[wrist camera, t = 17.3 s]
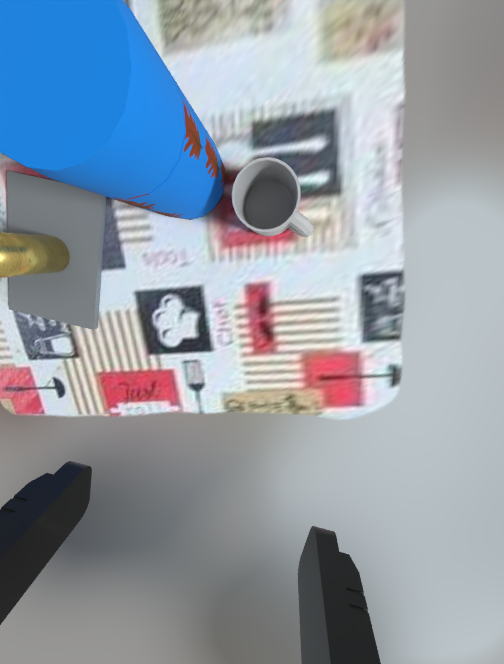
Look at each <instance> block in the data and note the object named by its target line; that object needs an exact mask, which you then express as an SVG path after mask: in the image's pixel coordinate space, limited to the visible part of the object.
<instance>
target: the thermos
mask: <svg viewBox="0 0 504 664" xmlns="http://www.w3.org/2000/svg"><path fill="white" fill-rule="evenodd" d="M0 153H2V154H4V155H6V156H8V157H10V158H11V159H13V160H15V161H17V162H19V163H21V164H22V165H24V166H26V167H28V168H30V169H32V170H34V171H36V172H38V173H40V174H42V175H44V176H46V177H48V178H50V179H53V180H56V181H60V182H63V183H66V184H69V185H72V186H75V187H78V188H81V189H84V190H88V191H91V192H94V193H97V194H100V195H103V196H106V197H109V198H112V199H115V200H119V201H122V202H125V203H128V204H131V205H134V206H137V207H140V208H143V209H147V210H150V211H153V212H156V213H159V214H162V215H165V216H169V217H175V218H182V219H189V220H191V219H195V218H199V217H203V216H205V215H206V214H207V213H209V212H210V211H212V210H213V209H214V208H215V206H216V205H217V203H218V202H219V200H220V199H221V197H222V194H223V190H224V186H225V168H224V166H223V163H222V160H221V158H220V155H219V153H218V151H217V148H216V146H215V144H214V142H213V140H212V139H211V137H210V136H209V134H208V132H207V131H206V129H205V128H204V126H203V124H202V123H201V121H200V120H199V118H198V116H197V115H196V113H195V112H194V110H193V108H192V107H191V105H190V104H189V102H188V101H187V99H186V97H185V96H184V94H183V93H182V91H181V89H180V88H179V86H178V85H177V83H176V81H175V80H174V78H173V77H172V75H171V73H170V72H169V70H168V69H167V67H166V65H165V64H164V62H163V61H162V59H161V57H160V56H159V54H158V53H157V51H156V50H155V48H154V46H153V45H152V43H151V42H150V40H149V38H148V37H147V35H146V34H145V32H144V30H143V29H142V27H141V26H140V24H139V22H138V21H137V19H136V18H135V16H134V14H133V13H132V11H131V10H130V9H129V7H128V6H127V5H126V4H125V3H124V1H123V0H0Z"/></svg>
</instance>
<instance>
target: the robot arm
mask: <svg viewBox="0 0 504 664" xmlns="http://www.w3.org/2000/svg"><path fill="white" fill-rule="evenodd" d="M91 474H92V468H91V467H90V466H87V465H83V464H80V463H76V462H72V461H69V462H67V463H65V464H64V465H63V466H62V467H61V468H60V469H59V470H58V471H57V472H56V473H55V474H54V475H53V474H49V473H46V474H44V475H42V476H40V477H39V478H37V479H35V480H33V481H31V482H29V483H28V484H27V485H26V486H25V487H24V488H22V489H21V490H20V491H19V492H18V493H17V494H16V495H15V496H14V498H13V499H10V500H9V501H8V502H7V503H6V504H5V505H4V506H2V508H1V510H0V625H1V623H2V622H3V621H4V619H5V618H6V617H7V615H8V614H9V613H10V611H11V610H12V609H13V607H14V606H15V605H16V603H17V602H18V601H19V600H20V598H21V597H22V596H23V594H24V593H25V592H26V590H27V589H28V588H29V586H30V585H31V584H32V583H33V581H34V580H35V579H36V577H37V576H38V575H39V573H40V572H41V571H42V569H43V568H44V567H45V566H46V564H47V563H48V562H49V560H50V559H51V558H52V556H53V555H54V554H55V552H56V551H57V550H58V549H59V547H60V546H61V544H62V543H63V542H64V541H65V539H66V538H67V537H68V535H69V534H70V533H71V532H72V530H73V529H74V528H75V526H76V525H77V524H78V522H79V521H80V520H81V518H82V517H83V515H84V513H85V511H86V509H87V507H88V504H89V500H90V487H91ZM298 590H299V612H300V635H301V658H302V664H381V663H380V659H379V654H378V650H377V646H376V642H375V638H374V634H373V629H372V625H371V621H370V617H369V613H368V611H367V610H368V608H367V604H366V600H365V596H364V594H363V592H364V591H363V587H362V583H361V579H360V575H359V572H358V570H357V568H356V566H355V564H354V563H353V561H352V559H351V557H350V555H349V554H345V553H341V552H339V548H338V543H337V538H336V534H335V532H333V531H329V530H326V529H322V528H318V527H315V526H312V528H311V529H310V532H309V535H308V537H307V540H306V543H305V546H304V549H303V552H302V555H301V558H300V562H299V569H298Z"/></svg>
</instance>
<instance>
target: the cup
mask: <svg viewBox="0 0 504 664" xmlns="http://www.w3.org/2000/svg"><path fill="white" fill-rule="evenodd" d="M299 202H300V185H299V181H298V178H297V176H296V175H295V173H294V171H293V170H292V169H291V168H290V167H289V166H288V165H287V164H286V163H284V162H282V161H280V160H279V159H275V158H270V157H267V158H259V159H256V160H254V161H251V162H250V163H249V164H247V165H246V166H245V167H243V168H242V170H241V171H240V172H239V174H238V175H237V177H236V179H235V182H234V184H233V190H232V204H233V207H234V210H235V213H236V214H237V216H238V218H239V219H240V221H242V222H243V223H244V224H245V225H246V226H247V227H248V228H250V229H251V230H252V231H254V232H256V233H258V234H259V235H263V236H275V235H278V234H281V233H282V232H284V231H285V230H286V229H287V228H289V229H290V230H291V231H293V232H294V233H296V234H298V235H300V236H303V237H308V236H309V235H311V234H312V232H313V226H312V224H311V223H310V221H309V220H308V219H307V218H306V217H305V216H304V215H302V214H301V213H300V212H298V211H297V210H298V207H299Z"/></svg>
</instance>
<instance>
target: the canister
mask: <svg viewBox="0 0 504 664" xmlns="http://www.w3.org/2000/svg"><path fill="white" fill-rule="evenodd" d="M69 260H70V255H69V251H68V248H67V246H66V245H65V244H64V242H63V241H62V240H60V239H59V238H57V237H55V236H47V235H32V234H17V233H2V232H0V278H2V277H13V276H23V275H34V274H45V273H56V272H61V271H63V270H65V269H66V267H67V266H68V264H69Z"/></svg>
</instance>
